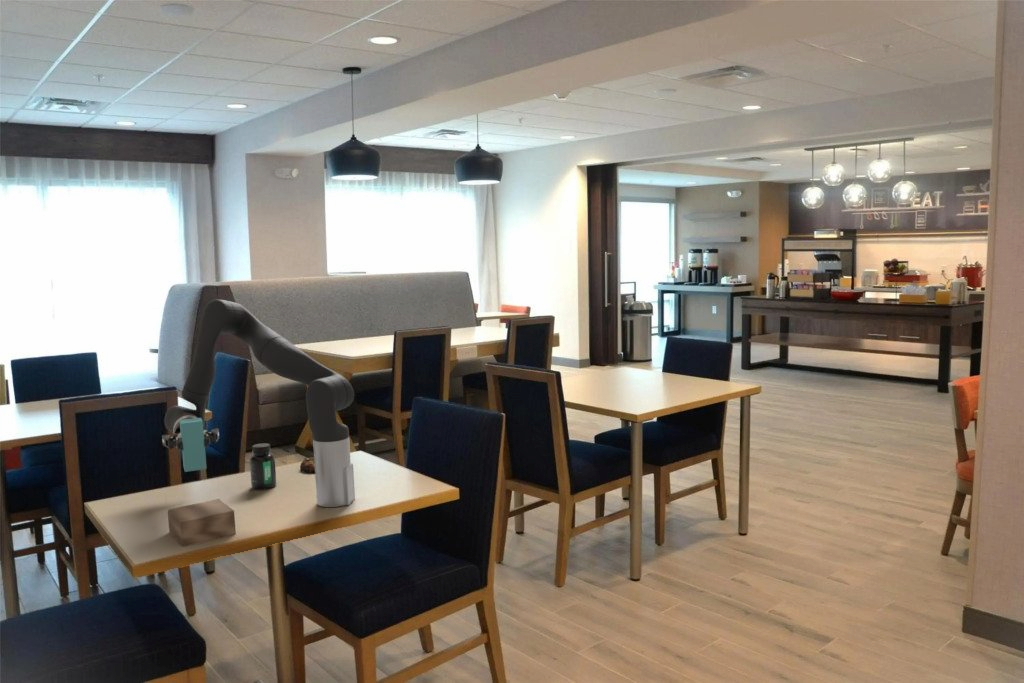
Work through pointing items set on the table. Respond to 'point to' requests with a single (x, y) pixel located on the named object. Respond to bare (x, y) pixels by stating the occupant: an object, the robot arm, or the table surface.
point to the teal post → (193, 444)
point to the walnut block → (201, 522)
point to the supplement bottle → (262, 467)
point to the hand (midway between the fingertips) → (193, 444)
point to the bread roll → (308, 465)
